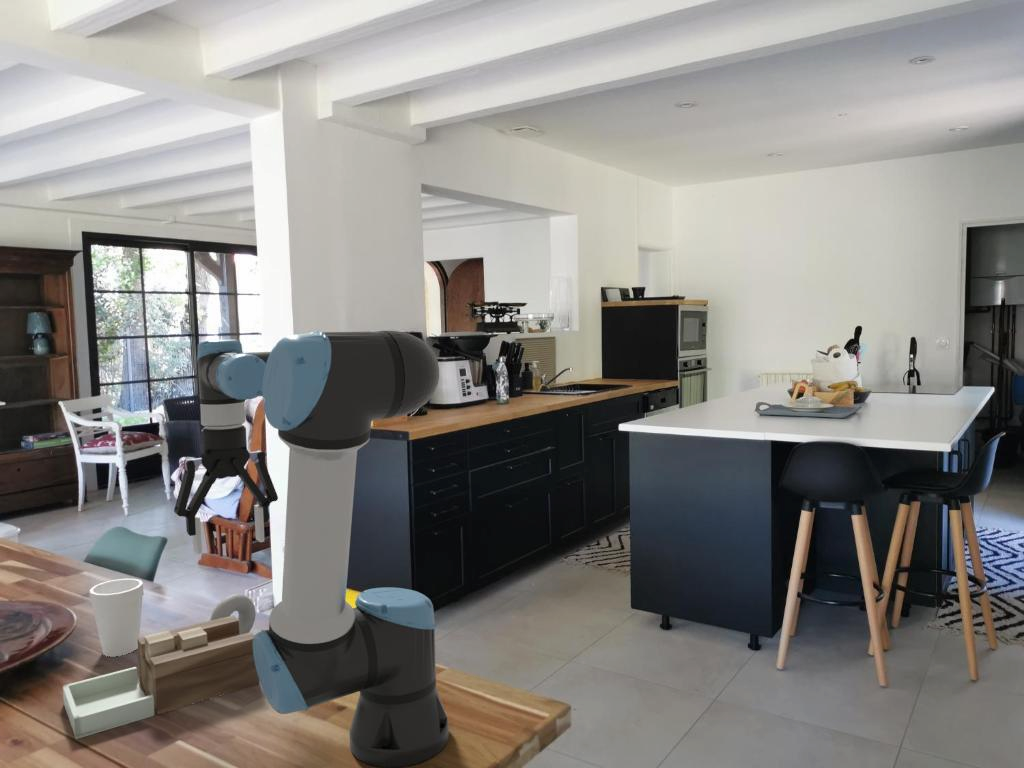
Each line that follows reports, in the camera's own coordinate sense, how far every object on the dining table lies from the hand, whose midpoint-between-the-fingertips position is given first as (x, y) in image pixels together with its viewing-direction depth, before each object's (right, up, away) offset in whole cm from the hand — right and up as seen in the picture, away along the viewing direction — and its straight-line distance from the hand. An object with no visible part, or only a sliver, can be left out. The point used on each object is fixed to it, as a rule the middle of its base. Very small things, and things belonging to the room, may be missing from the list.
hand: (229, 546), depth 141 cm
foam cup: (-27, -24, +13) cm, 38 cm away
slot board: (-5, -24, -2) cm, 25 cm away
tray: (-17, -25, -10) cm, 32 cm away
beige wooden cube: (-5, -19, -4) cm, 20 cm away
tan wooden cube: (-10, -19, -5) cm, 22 cm away
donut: (-5, -23, +16) cm, 28 cm away
